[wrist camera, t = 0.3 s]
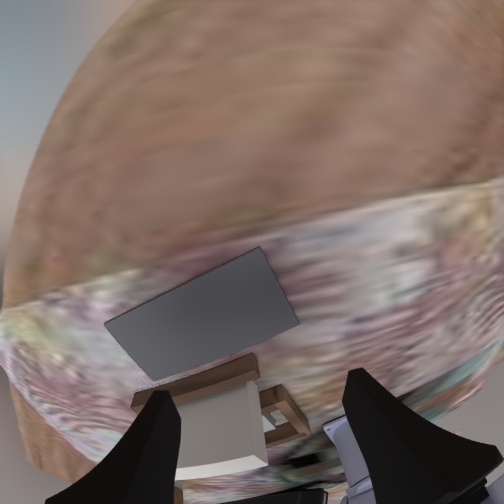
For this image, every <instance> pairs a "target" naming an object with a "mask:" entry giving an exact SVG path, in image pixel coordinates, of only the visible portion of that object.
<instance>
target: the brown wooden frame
mask: <svg viewBox="0 0 504 504" xmlns="http://www.w3.org/2000/svg"><path fill="white" fill-rule="evenodd" d="M259 377H260V374H259V367H258V360H257V359H256V358H255V356H254V355H253V353H251V354H249V355H246V356H244V357H241V358H239V359H236V360H234V361H231V362H228V363H226V364H223V365H221V366H218V367H215V368H212V369H210V370H207V371H204V372H201V373H198V374H195V375H192V376H189V377H186V378H183V379H180V380H177V381H174V382H171V383H168V384H165V385H161V386H158V387H155V388H151V389H148V390H144V391H141V392H137V393H135V394H134V397H133V400H132V403H131V407H130V408H131V409H132V410H133V411H134V412H136V413H137V414H138V413H140V411H141V410H142V408H143V407H144V405H145V404H146V402H147V400H148V399H149V397H150V396H151V394H152V393H153V391H154V390H169V392H170V395H171V397H172V399H173V402H174V404H175V405H176V404H179V403H183V402H187V401H190V400H194V399H197V398H201V397H204V396H207V395H210V394H214V393H217V392H220V391H223V390H226V389H229V388H232V387H235V386H237V385H240V384H243V383H246V382H249V381H251V380H254V379H257V378H259ZM259 399H260V406H261V414H262V415H264V414H267V413H270V412H273V411H275V410H278V409H279V410H280V411H281V413H282V414H283V415H284V416H285V417H286V418H287V420H288V421H289V422H288V423H285V424H282V425H279V426H276V429H273V430H270V431H267V432H264V437H265V444H266V448H269V447H273V446H276V445H280V444H283V443H286V442H289V441H292V440H295V439H298V438H301V437H304V436H306V435H309V434H311V430H310V427H309V423H308V420H307V418H306V417H305V416H304V414H303V413H302V412H301V410H300V409H299V408H298V406H297V405H296V404H295V402H294V401H293V400H292V398H291V397H290V396H289V394H288V393H287V391H286V390H285V389H284V387H283V386H282V385H279V386H276V387H273V388H271V389H268V390H265V391H263V392H260V393H259Z"/></svg>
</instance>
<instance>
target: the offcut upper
mask: <svg viewBox="0 0 504 504" xmlns="http://www.w3.org/2000/svg"><path fill="white" fill-rule="evenodd" d="M262 422H263V429H264V432H267V431H270V430H273V429H276V426H275V421H274V420H273V419H272V418H271V417H270V416H269V415H268V414H264V415H262Z"/></svg>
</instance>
